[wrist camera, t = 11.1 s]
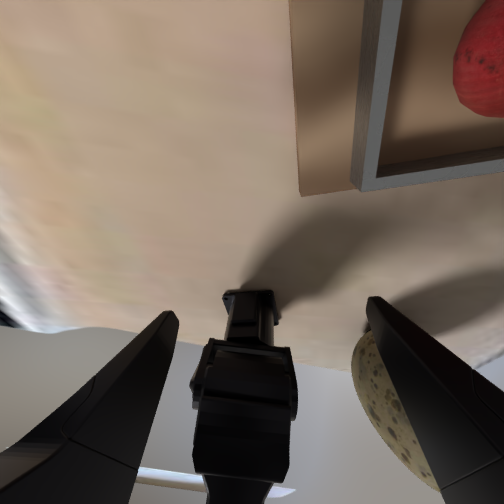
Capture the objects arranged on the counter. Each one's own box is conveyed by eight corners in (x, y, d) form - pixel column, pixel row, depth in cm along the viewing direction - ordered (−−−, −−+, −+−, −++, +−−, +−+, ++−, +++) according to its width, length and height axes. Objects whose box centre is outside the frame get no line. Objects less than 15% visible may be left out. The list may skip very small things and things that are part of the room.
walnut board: (579, 148, 15) (606, 151, 14) (299, 190, 18) (301, 196, 17) (859, -288, 7) (976, -364, 6) (284, -80, 11) (286, -105, 9)
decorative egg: (387, 359, 33) (456, 510, 21) (325, 343, 31) (361, 495, 19) (444, 320, 27) (590, 502, 15) (371, 297, 25) (466, 478, 13)
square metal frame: (546, 150, 14) (592, 158, 12) (349, 180, 16) (361, 192, 14) (771, -250, 7) (973, -392, 5) (373, -108, 9) (403, -169, 7)
